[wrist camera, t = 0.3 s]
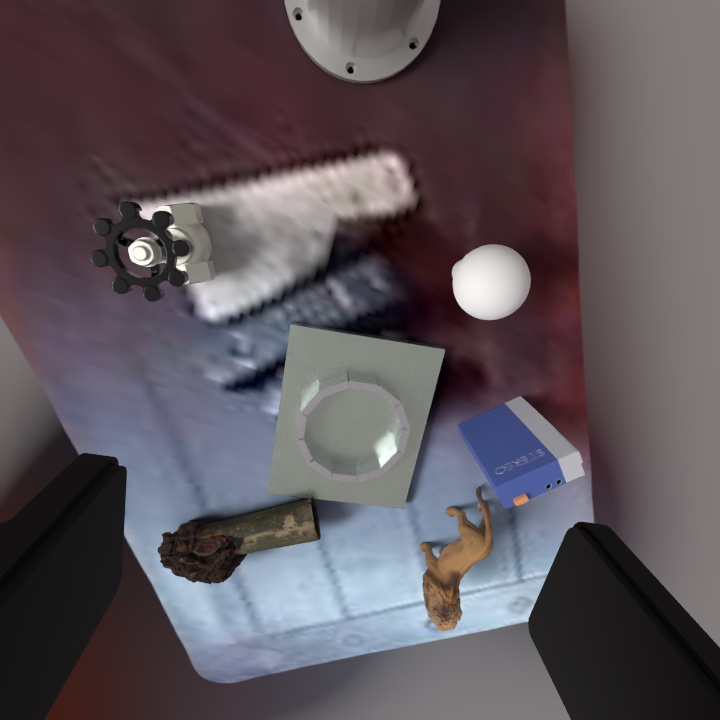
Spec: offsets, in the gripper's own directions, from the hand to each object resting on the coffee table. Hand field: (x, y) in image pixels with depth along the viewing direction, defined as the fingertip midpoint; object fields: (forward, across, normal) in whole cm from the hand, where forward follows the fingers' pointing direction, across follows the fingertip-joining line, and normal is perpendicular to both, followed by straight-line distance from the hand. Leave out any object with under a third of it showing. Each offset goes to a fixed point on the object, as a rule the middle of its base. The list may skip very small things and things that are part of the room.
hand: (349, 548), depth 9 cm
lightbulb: (+35, -12, -4) cm, 37 cm away
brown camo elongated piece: (+35, +5, +30) cm, 47 cm away
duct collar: (+35, -5, +14) cm, 38 cm away
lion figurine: (+35, -20, +27) cm, 49 cm away
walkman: (+35, -21, +11) cm, 42 cm away
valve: (+35, +14, -2) cm, 38 cm away
